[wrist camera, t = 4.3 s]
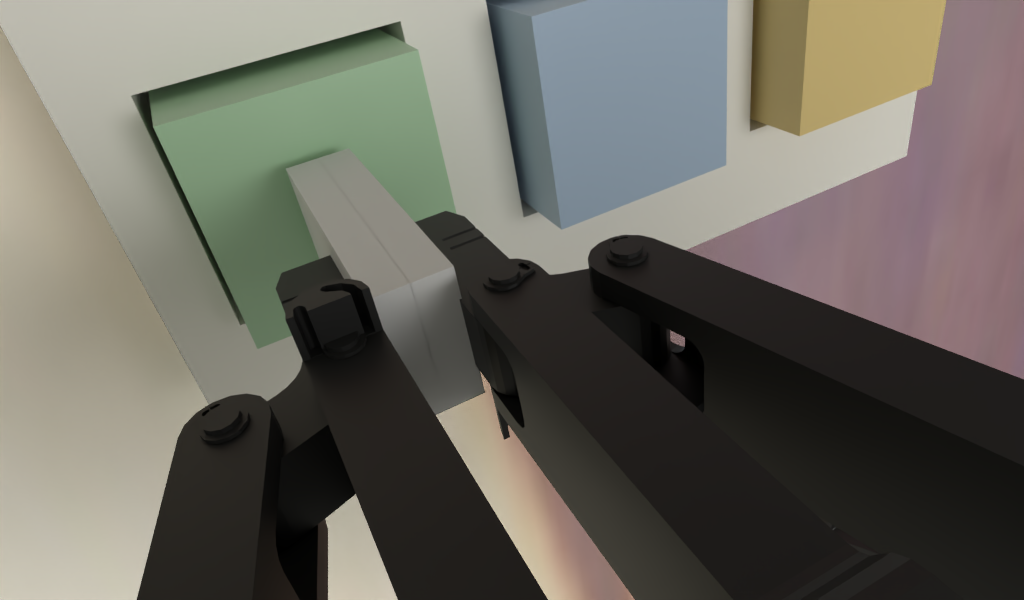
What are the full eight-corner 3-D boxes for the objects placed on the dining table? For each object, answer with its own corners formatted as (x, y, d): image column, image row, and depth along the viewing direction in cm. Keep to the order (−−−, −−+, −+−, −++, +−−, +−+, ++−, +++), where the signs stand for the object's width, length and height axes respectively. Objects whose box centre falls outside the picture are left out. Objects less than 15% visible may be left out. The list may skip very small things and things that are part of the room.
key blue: (642, -50, 22) (727, -41, 19) (652, 131, 25) (726, 165, 22) (468, -2, 20) (531, 16, 17) (503, 185, 24) (561, 229, 21)
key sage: (371, 24, 20) (418, 49, 16) (421, 215, 23) (468, 266, 20) (147, 86, 18) (152, 126, 15) (237, 282, 21) (257, 349, 18)
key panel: (822, -244, 26) (976, -274, 21) (797, 119, 34) (906, 155, 29) (-6, -77, 18) (-52, -68, 13) (210, 344, 26) (230, 443, 21)
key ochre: (857, -110, 25) (965, -110, 21) (840, 63, 28) (931, 84, 25) (719, -71, 23) (813, -66, 20) (719, 107, 26) (799, 136, 23)
